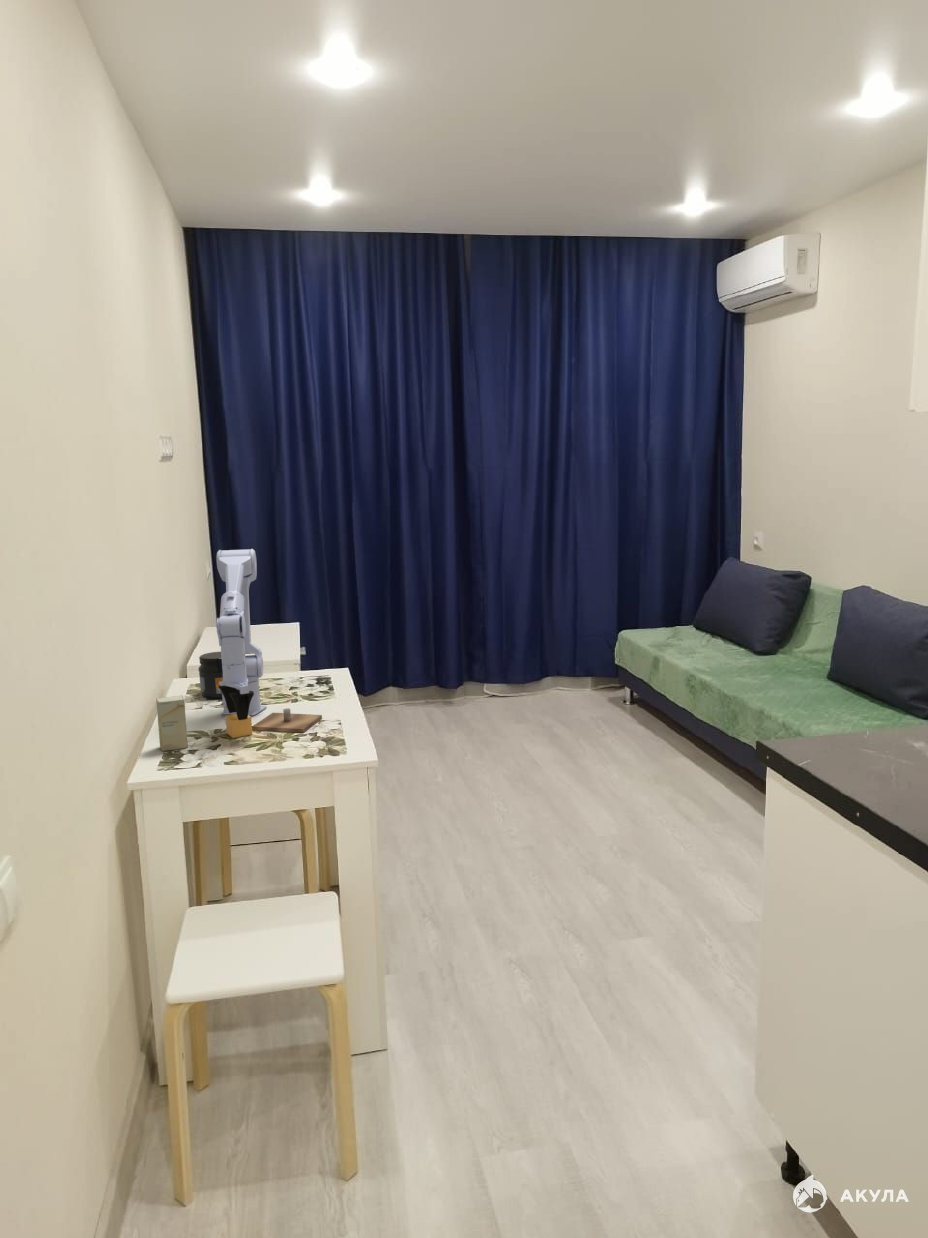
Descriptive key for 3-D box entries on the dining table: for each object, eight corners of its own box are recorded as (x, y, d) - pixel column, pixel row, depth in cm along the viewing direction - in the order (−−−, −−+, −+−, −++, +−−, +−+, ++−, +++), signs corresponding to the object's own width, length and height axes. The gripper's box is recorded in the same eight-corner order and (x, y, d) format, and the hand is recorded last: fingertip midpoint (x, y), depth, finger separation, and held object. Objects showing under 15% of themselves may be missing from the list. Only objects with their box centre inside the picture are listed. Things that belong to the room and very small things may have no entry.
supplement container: (243, 695, 259) (240, 655, 257) (207, 702, 253) (204, 661, 251) (230, 688, 268) (227, 649, 266) (195, 694, 262) (192, 654, 260)
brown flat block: (252, 730, 227) (251, 715, 226) (273, 716, 239) (271, 701, 238) (303, 732, 224) (302, 717, 223) (322, 718, 235) (321, 704, 235)
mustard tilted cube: (232, 738, 221) (231, 720, 221) (226, 732, 226) (225, 715, 225) (252, 734, 224) (251, 717, 223) (246, 729, 228) (244, 712, 227)
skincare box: (161, 752, 213) (156, 702, 210) (159, 746, 217) (155, 698, 214) (189, 747, 215) (184, 699, 213) (186, 742, 219) (182, 694, 217)
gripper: (209, 659, 225) (213, 711, 228) (226, 670, 213) (231, 725, 216) (237, 655, 229) (241, 707, 231) (255, 666, 217) (259, 720, 219)
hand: (238, 715), depth 224 cm, fingers open, 7 cm apart
